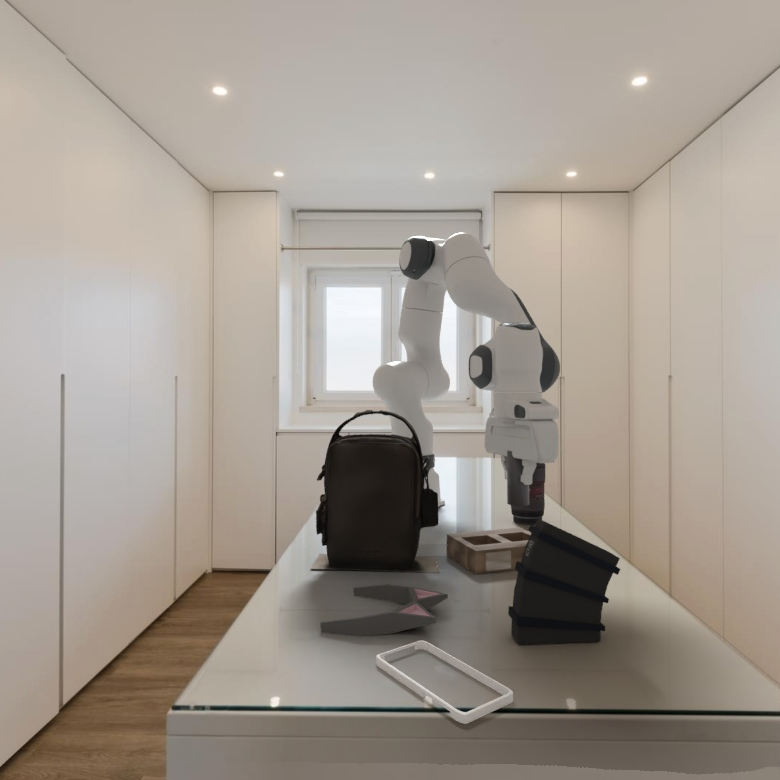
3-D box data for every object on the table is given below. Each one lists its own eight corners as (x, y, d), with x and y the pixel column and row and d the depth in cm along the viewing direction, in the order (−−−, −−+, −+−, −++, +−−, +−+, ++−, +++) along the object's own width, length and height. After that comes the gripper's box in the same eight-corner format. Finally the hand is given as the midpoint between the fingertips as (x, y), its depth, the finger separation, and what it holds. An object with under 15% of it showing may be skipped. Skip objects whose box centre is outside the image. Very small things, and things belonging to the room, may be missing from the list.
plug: (503, 502, 108) (503, 449, 108) (521, 501, 109) (521, 449, 109) (514, 506, 104) (514, 451, 104) (533, 505, 106) (533, 451, 106)
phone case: (515, 704, 58) (422, 649, 70) (515, 691, 58) (422, 638, 70) (463, 730, 54) (373, 666, 66) (463, 716, 54) (373, 655, 66)
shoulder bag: (438, 557, 107) (438, 409, 107) (439, 573, 98) (440, 411, 98) (319, 555, 109) (319, 408, 109) (310, 570, 100) (310, 410, 99)
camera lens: (546, 526, 132) (546, 461, 132) (510, 524, 133) (510, 460, 133) (544, 518, 140) (544, 457, 140) (510, 516, 141) (510, 456, 141)
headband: (353, 583, 88) (449, 582, 84) (355, 603, 88) (451, 603, 84) (319, 618, 74) (431, 618, 70) (321, 642, 74) (434, 643, 70)
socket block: (446, 555, 109) (446, 534, 109) (519, 547, 114) (519, 527, 114) (476, 575, 97) (477, 551, 97) (556, 565, 102) (556, 543, 102)
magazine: (485, 622, 73) (534, 516, 74) (574, 662, 74) (622, 557, 75) (492, 634, 70) (544, 523, 70) (586, 676, 71) (636, 566, 71)
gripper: (476, 407, 116) (477, 475, 116) (533, 410, 96) (533, 491, 96) (504, 406, 118) (504, 473, 118) (565, 409, 98) (565, 489, 98)
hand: (518, 481), depth 107 cm, fingers closed on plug, 4 cm apart
